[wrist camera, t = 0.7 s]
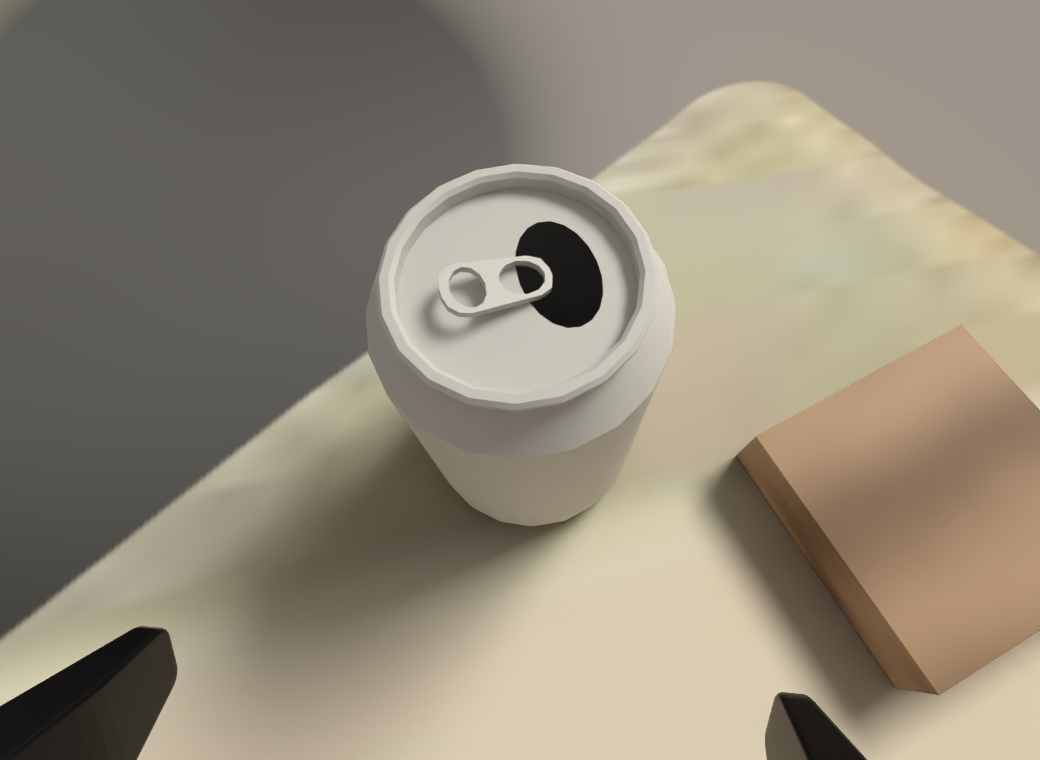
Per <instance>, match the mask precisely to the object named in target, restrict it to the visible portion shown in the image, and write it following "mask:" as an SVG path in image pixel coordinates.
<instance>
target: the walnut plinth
mask: <svg viewBox="0 0 1040 760" xmlns="http://www.w3.org/2000/svg"><path fill="white" fill-rule="evenodd" d="M736 456H737V458H738V459H739V461H740V462H741V463H742V465H743V466H744V468H745V469H746V471H747V472H748V474H749V475H750V477H751V478H752V479H753V481H754V482H755V484H756V485H757V487H758V488H759V490H760V491H761V493H762V494H763V496H764V497H765V498H766V500H767V501H768V503H769V504H770V506H771V507H772V509H773V510H774V512H775V513H776V514H777V516H778V517H779V519H780V520H781V522H782V523H783V525H784V526H785V528H786V529H787V531H788V532H789V533H790V535H791V536H792V538H793V539H794V541H795V542H796V544H797V545H798V547H799V548H800V550H801V551H802V552H803V554H804V555H805V557H806V558H807V560H808V561H809V563H810V564H811V566H812V567H813V568H814V570H815V571H816V573H817V574H818V576H819V577H820V579H821V580H822V582H823V583H824V585H825V586H826V587H827V589H828V590H829V592H830V593H831V595H832V596H833V598H834V599H835V601H836V602H837V604H838V605H839V606H840V608H841V609H842V611H843V612H844V614H845V615H846V617H847V618H848V620H849V621H850V622H851V624H852V625H853V627H854V628H855V630H856V631H857V633H858V634H859V636H860V637H861V639H862V640H863V641H864V643H865V644H866V646H867V647H868V649H869V650H870V652H871V653H872V655H873V656H874V658H875V659H876V660H877V662H878V663H879V665H880V666H881V668H882V669H883V671H884V672H885V674H886V675H887V676H888V678H889V679H890V681H891V682H892V684H893V685H894V687H895V688H900V689H906V690H912V691H918V692H924V693H930V694H936V695H940V694H942V693H943V692H945V691H946V690H948V689H949V688H951V687H953V686H954V685H956V684H957V683H959V682H960V681H962V680H963V679H965V678H966V677H968V676H970V675H971V674H973V673H974V672H976V671H977V670H979V669H980V668H982V667H983V666H985V665H987V664H988V663H990V662H991V661H993V660H994V659H996V658H997V657H999V656H1000V655H1002V654H1004V653H1005V652H1007V651H1008V650H1010V649H1011V648H1013V647H1014V646H1016V645H1017V644H1019V643H1021V642H1022V641H1024V640H1025V639H1027V638H1028V637H1030V636H1031V635H1033V634H1035V633H1036V632H1038V631H1039V630H1040V410H1039V409H1038V408H1037V407H1036V406H1035V405H1034V403H1033V402H1032V401H1031V400H1030V399H1029V398H1028V397H1027V396H1026V395H1025V394H1024V393H1023V391H1022V390H1021V389H1020V388H1019V387H1018V386H1017V385H1016V384H1015V383H1014V382H1013V381H1012V380H1011V378H1010V377H1009V376H1008V375H1007V374H1006V373H1005V372H1004V371H1003V370H1002V369H1001V368H1000V366H999V365H998V364H997V363H996V362H995V361H994V360H993V359H992V358H991V357H990V356H989V355H988V353H987V352H986V351H985V350H984V349H983V348H982V347H981V346H980V345H979V344H978V343H977V341H976V340H975V339H974V338H973V337H972V336H971V335H970V334H969V333H968V332H967V331H966V330H965V328H964V327H963V326H962V325H959V326H957V327H956V328H954V329H952V330H950V331H948V332H946V333H945V334H943V335H941V336H939V337H937V338H935V339H934V340H932V341H930V342H928V343H926V344H925V345H923V346H921V347H919V348H917V349H915V350H914V351H912V352H910V353H908V354H906V355H904V356H903V357H901V358H899V359H897V360H895V361H893V362H892V363H890V364H888V365H886V366H884V367H882V368H881V369H879V370H877V371H875V372H873V373H871V374H870V375H868V376H866V377H864V378H862V379H860V380H859V381H857V382H855V383H853V384H851V385H850V386H848V387H846V388H844V389H842V390H840V391H839V392H837V393H835V394H833V395H831V396H829V397H828V398H826V399H824V400H822V401H820V402H818V403H817V404H815V405H813V406H811V407H809V408H807V409H806V410H804V411H802V412H800V413H798V414H796V415H795V416H793V417H791V418H789V419H787V420H786V421H784V422H782V423H780V424H778V425H776V426H775V427H773V428H771V429H769V430H767V431H765V432H764V433H762V434H760V435H758V436H756V437H755V438H754V439H753V440H752V441H751V442H750V443H749V444H748V445H747V446H746V447H745V448H744V449H743V450H741V451H740V452H739V453H738V454H737V455H736Z"/></svg>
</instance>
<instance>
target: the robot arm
mask: <svg viewBox="0 0 1040 760" xmlns="http://www.w3.org/2000/svg"><path fill="white" fill-rule="evenodd" d="M176 677H177V664H176V660H175V656H174V651H173V647H172V643H171V639H170V636H169V633H168V632H167V631H166V630H165V629H163V628H156V627H146V626H140V627H136V628H134V629H132V630H130V631H128V632H127V633H125V634H123V635H122V636H120V637H118V638H116V639H115V640H113V641H111V642H110V643H108V644H106V645H104V646H103V647H101V648H99V649H98V650H96V651H94V652H92V653H91V654H89V655H87V656H86V657H84V658H82V659H80V660H79V661H77V662H75V663H74V664H72V665H70V666H68V667H67V668H65V669H63V670H62V671H60V672H58V673H56V674H55V675H53V676H51V677H50V678H48V679H46V680H44V681H43V682H41V683H39V684H38V685H36V686H34V687H32V688H31V689H29V690H27V691H26V692H24V693H22V694H21V695H19V696H17V697H15V698H14V699H12V700H10V701H9V702H7V703H5V704H3V705H2V706H0V760H137V758H138V756H139V754H140V752H141V750H142V748H143V746H144V744H145V742H146V740H147V738H148V736H149V734H150V732H151V730H152V728H153V726H154V724H155V722H156V720H157V718H158V716H159V714H160V712H161V710H162V708H163V706H164V704H165V702H166V700H167V698H168V696H169V694H170V692H171V690H172V688H173V686H174V684H175V681H176ZM765 749H766V755H767V760H867V759H866V758H865V757H864V756H863V755H862V754H861V753H860V751H859V750H858V749H857V748H856V747H855V746H854V745H853V744H852V743H851V742H850V740H849V739H848V738H847V737H846V736H845V735H844V734H843V733H842V732H841V731H840V729H839V728H838V727H837V726H836V725H835V724H834V723H833V722H832V721H831V719H830V718H829V717H828V716H827V715H826V714H825V713H824V712H823V711H822V710H821V708H820V707H819V706H818V705H817V704H816V703H815V702H814V701H813V700H812V699H811V698H810V697H808V696H806V695H803V694H795V693H785V692H780V693H778V694H777V695H776V696H775V699H774V702H773V706H772V709H771V713H770V717H769V721H768V725H767V728H766V733H765Z"/></svg>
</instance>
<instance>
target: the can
mask: <svg viewBox="0 0 1040 760" xmlns="http://www.w3.org/2000/svg"><path fill="white" fill-rule="evenodd" d="M675 308H676V303H675V300H674V296H673V293H672V290H671V286H670V283H669V279H668V276H667V272H666V269H665V266H664V263H663V261H662V260H661V259H660V257H659V256H658V254H657V253H656V252H655V250H654V249H653V247H652V246H651V242H650V239H649V236H648V234H647V233H646V231H645V230H644V229H643V227H642V226H641V225H640V223H639V222H638V220H637V219H636V218H635V216H634V215H633V213H632V212H631V211H630V209H629V208H628V206H627V205H626V204H625V203H623V202H622V201H621V200H619V199H618V198H617V197H615V196H614V195H612V194H611V193H610V192H608V191H607V190H606V189H604V188H603V187H602V186H600V185H599V184H597V183H596V182H595V181H592V180H590V179H587V178H584V177H581V176H579V175H576V174H573V173H571V172H567V171H565V170H562V169H560V168H557V167H546V166H535V165H525V164H524V165H523V164H511V165H505V166H499V167H493V168H486V169H480V170H475V171H473V172H471V173H468V174H466V175H464V176H461V177H459V178H457V179H454V180H452V181H450V182H448V183H445V184H443V185H441V186H439V187H437V188H436V189H435V190H434V191H432V192H431V193H430V194H429V195H427V196H426V197H425V198H424V199H422V200H421V201H420V202H419V203H417V204H416V205H415V206H414V207H412V208H411V209H410V210H409V211H408V212H407V213H406V215H405V216H404V217H403V219H402V220H401V222H400V223H399V225H398V226H397V228H396V229H395V231H394V232H393V233H392V235H391V236H390V238H389V239H388V241H387V242H386V245H385V248H384V252H383V255H382V259H381V262H380V266H379V269H378V271H377V274H376V278H375V281H374V285H373V289H372V292H371V295H370V299H369V302H368V306H367V310H366V318H367V319H366V320H367V335H368V350H369V356H370V358H371V360H372V362H373V365H374V367H375V369H376V371H377V373H378V376H379V378H380V380H381V382H382V384H383V387H384V389H385V391H386V393H387V395H388V397H389V398H390V400H391V401H392V403H393V404H394V405H395V407H396V408H397V410H398V411H399V413H400V414H401V415H402V417H403V418H404V420H405V421H406V422H407V424H408V425H409V427H410V428H411V430H412V431H413V432H414V434H415V435H416V437H417V438H418V440H419V441H420V442H421V444H422V445H423V447H424V448H425V450H426V451H427V452H428V454H429V455H430V457H431V458H432V460H433V461H434V462H435V464H436V465H437V467H438V468H439V470H440V471H441V472H442V474H443V475H444V477H445V478H446V480H447V481H448V482H449V484H450V485H451V486H452V487H453V488H454V489H455V490H456V491H457V492H458V493H459V494H460V496H461V497H462V498H463V499H464V500H465V501H466V502H467V503H468V504H469V505H470V506H471V507H473V508H474V509H476V510H478V511H480V512H482V513H484V514H486V515H488V516H490V517H492V518H494V519H496V520H498V521H500V522H506V523H512V524H519V525H525V526H538V525H544V524H550V523H556V522H562V521H565V520H567V519H569V518H571V517H573V516H575V515H577V514H578V513H580V512H582V511H584V510H586V509H588V508H590V507H592V506H593V505H594V504H595V503H596V502H597V501H598V500H599V499H600V498H601V497H602V496H603V494H604V493H605V492H606V491H607V490H608V489H609V488H610V487H611V486H612V485H613V484H614V482H615V480H616V478H617V476H618V474H619V472H620V469H621V467H622V465H623V463H624V461H625V458H626V456H627V454H628V452H629V449H630V447H631V445H632V442H633V440H634V438H635V435H636V433H637V431H638V428H639V426H640V423H641V421H642V419H643V416H644V414H645V412H646V409H647V407H648V405H649V402H650V400H651V398H652V395H653V393H654V391H655V388H656V386H657V384H658V381H659V379H660V377H661V374H662V372H663V370H664V367H665V365H666V363H667V360H668V358H669V356H670V353H671V351H672V349H673V336H674V322H675Z"/></svg>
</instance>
